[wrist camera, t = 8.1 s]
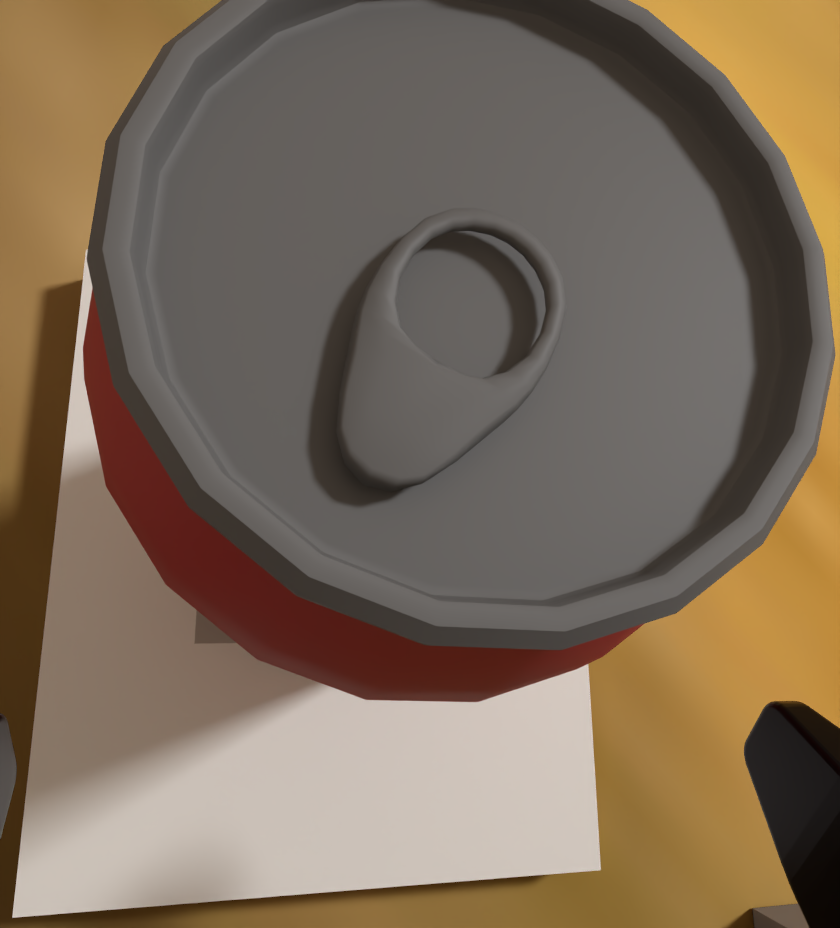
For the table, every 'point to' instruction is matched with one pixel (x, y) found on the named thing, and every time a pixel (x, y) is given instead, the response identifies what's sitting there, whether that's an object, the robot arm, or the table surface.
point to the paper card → (261, 749)
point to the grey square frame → (779, 917)
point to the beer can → (448, 333)
